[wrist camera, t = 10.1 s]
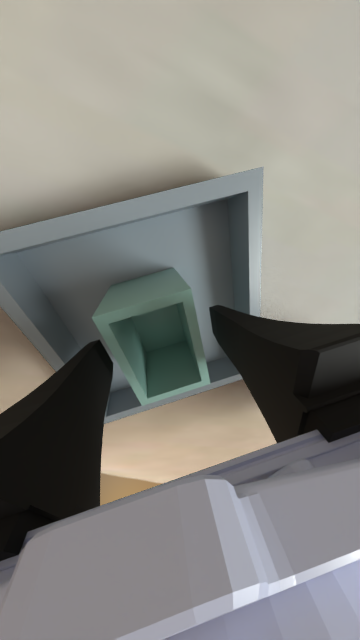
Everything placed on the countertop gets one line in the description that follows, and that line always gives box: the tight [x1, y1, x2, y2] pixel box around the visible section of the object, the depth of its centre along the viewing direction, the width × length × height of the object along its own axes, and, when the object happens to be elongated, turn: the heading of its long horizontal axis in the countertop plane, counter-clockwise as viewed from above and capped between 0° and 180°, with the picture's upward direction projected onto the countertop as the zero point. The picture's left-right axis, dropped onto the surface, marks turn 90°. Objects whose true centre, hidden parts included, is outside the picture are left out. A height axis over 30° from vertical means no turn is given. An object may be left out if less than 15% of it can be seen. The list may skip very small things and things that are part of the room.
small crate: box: [92, 268, 211, 406], centre depth 11 cm, size 4×6×5 cm
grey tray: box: [0, 167, 263, 424], centre depth 13 cm, size 15×15×3 cm
